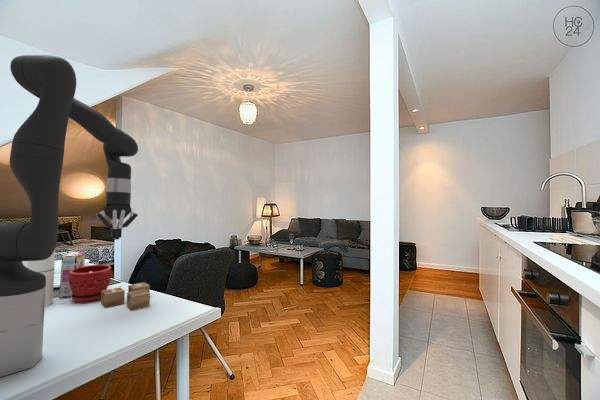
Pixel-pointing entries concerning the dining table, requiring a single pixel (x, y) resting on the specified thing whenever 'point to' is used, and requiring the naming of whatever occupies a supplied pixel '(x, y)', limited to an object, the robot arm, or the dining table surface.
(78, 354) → the dining table surface
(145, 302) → the plain walnut block
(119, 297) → the marked walnut block bar
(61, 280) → the candy bar box
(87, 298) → the plant pot
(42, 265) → the cylindrical container
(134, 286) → the cube with circle marking
